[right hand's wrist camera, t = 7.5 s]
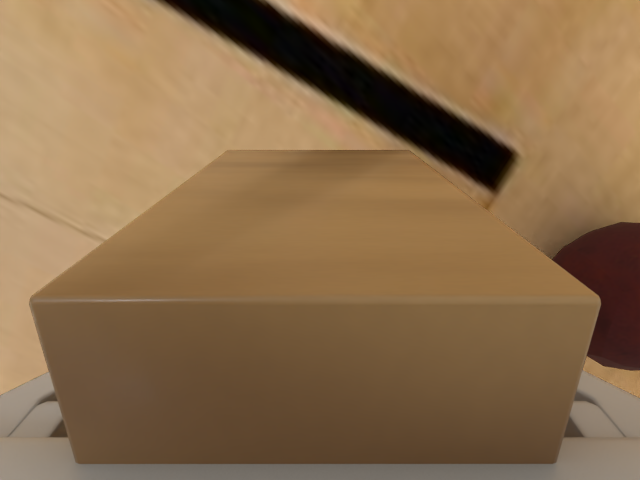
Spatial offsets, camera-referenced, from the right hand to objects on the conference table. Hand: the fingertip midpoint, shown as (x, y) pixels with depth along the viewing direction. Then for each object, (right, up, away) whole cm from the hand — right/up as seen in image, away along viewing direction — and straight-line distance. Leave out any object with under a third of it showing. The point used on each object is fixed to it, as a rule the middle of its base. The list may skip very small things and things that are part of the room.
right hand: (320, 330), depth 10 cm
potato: (+16, +1, +14) cm, 21 cm away
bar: (0, -7, +7) cm, 10 cm away
